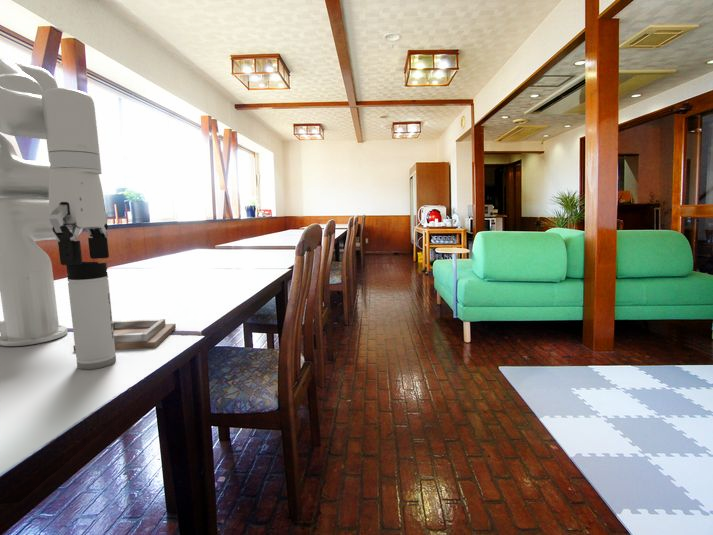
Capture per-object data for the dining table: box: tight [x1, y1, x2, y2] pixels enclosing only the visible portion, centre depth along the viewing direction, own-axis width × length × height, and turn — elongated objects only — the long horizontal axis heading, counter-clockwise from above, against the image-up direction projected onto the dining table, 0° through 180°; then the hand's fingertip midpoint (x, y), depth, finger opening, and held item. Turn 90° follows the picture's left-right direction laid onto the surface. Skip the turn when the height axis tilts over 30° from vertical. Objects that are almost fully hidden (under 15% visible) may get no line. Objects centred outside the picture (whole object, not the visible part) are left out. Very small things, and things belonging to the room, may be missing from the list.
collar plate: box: [73, 318, 176, 352], centre depth 92 cm, size 16×14×3 cm
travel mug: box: [65, 261, 117, 371], centre depth 76 cm, size 6×7×20 cm
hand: (86, 261), depth 75 cm, fingers open, 9 cm apart
